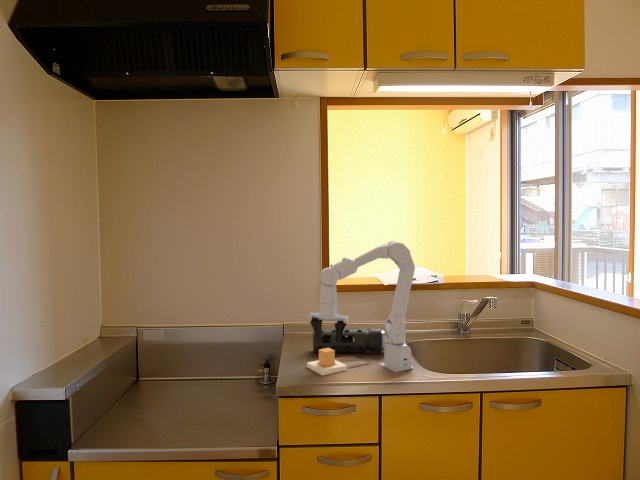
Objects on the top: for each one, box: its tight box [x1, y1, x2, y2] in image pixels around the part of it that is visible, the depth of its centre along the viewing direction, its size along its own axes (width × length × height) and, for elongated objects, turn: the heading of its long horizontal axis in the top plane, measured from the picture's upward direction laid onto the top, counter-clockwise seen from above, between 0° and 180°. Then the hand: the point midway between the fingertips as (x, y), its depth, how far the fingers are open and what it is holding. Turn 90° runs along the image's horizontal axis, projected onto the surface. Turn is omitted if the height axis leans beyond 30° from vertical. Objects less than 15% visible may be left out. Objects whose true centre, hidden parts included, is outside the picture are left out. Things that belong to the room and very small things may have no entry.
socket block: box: [306, 359, 348, 376], centre depth 158 cm, size 10×10×2 cm
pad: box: [335, 354, 370, 369], centre depth 165 cm, size 12×9×1 cm
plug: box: [318, 348, 336, 368], centre depth 158 cm, size 4×4×6 cm
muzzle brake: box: [312, 327, 386, 354], centre depth 177 cm, size 10×28×10 cm
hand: (328, 340), depth 159 cm, fingers open, 7 cm apart
